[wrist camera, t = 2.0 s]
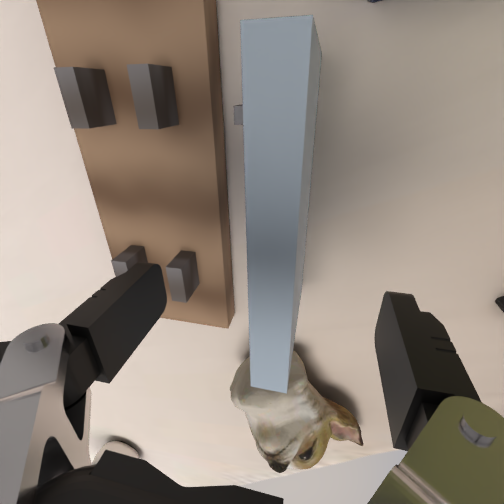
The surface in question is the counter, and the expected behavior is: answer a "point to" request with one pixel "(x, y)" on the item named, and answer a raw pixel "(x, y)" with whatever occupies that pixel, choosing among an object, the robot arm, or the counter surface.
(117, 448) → the plastic bottle
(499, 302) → the ammunition clip
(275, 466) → the ceramic sculpture
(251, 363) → the door
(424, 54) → the counter surface
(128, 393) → the counter surface
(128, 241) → the cabinet base
